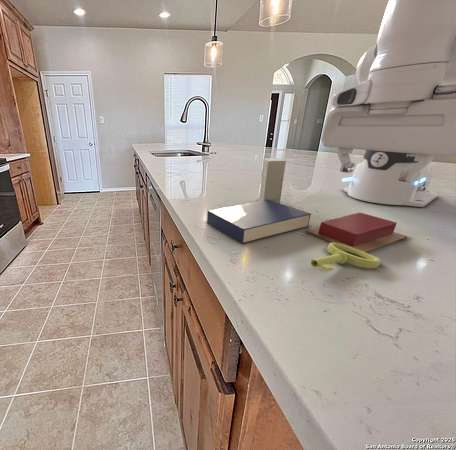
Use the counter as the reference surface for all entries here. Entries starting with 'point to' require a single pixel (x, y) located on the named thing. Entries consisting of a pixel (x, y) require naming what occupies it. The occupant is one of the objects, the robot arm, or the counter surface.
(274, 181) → the cosmetic box
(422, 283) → the counter surface
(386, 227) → the red rectangular block
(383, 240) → the cork mat
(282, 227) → the hardback
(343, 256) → the key
